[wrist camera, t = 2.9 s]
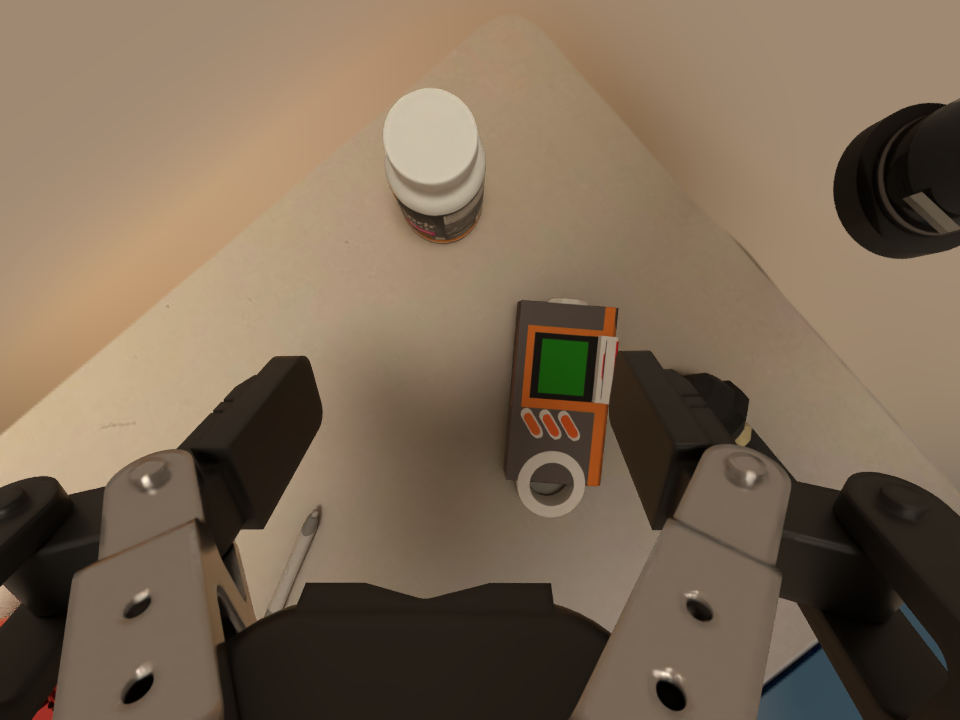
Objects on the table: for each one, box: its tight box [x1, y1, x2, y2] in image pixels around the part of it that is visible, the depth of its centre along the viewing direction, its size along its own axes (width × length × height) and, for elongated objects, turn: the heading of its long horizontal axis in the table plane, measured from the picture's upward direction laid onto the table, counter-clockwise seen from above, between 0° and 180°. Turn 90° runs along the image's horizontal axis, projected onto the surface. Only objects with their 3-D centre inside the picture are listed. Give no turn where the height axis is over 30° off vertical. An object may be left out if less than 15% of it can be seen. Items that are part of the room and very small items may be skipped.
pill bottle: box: [383, 88, 486, 243], centre depth 25 cm, size 6×6×10 cm
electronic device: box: [504, 298, 619, 517], centre depth 29 cm, size 7×3×15 cm
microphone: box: [683, 373, 796, 481], centre depth 29 cm, size 6×6×20 cm
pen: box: [264, 510, 319, 617], centre depth 30 cm, size 1×14×1 cm, turn 157°
